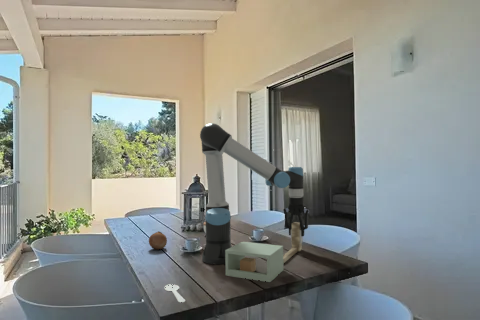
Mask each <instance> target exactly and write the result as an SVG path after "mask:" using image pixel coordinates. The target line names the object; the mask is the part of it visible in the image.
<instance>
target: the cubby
mask: <svg viewBox="0 0 480 320" xmlns="http://www.w3.org/2000/svg"><path fill="white" fill-rule="evenodd" d="M283 255H284V245H277V244H267V243H259V242H250V241H241V242H238V243H237V244H235V245H232V247H231V248H229V249H227V250H225V276H228V277H233V278H240V279H241V278H242V279H245V278H246V279H247V280H252V279H253V280H254V281H258V280H260V281H259V282H265V281H266V283H271V282H272V281H273V280H274V279H275V278H276V277H277V276H278V274H279V275H280V274H281V273H282V272H283V271H284V264H283ZM245 257H251V258H262V259H266V273H262V272H255V271H254V272H248V271H241V270H240V260H241V259H243V258H245ZM246 279H245V280H246ZM253 280H252V281H253Z"/></svg>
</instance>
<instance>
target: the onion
mask: <svg viewBox="0 0 480 320" xmlns="http://www.w3.org/2000/svg"><path fill="white" fill-rule="evenodd" d="M167 242H168V239H167V236H166V235H165V234H164V233H163V232H162V231H157V232H155V233H152V234H151V235H150V236H149V238H148V244H149V246H150V247H151V248H152V250H155V251H158V250H159V249H160V250H162V249H164V248H165V247H166V245H167V244H168V243H167Z"/></svg>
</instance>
